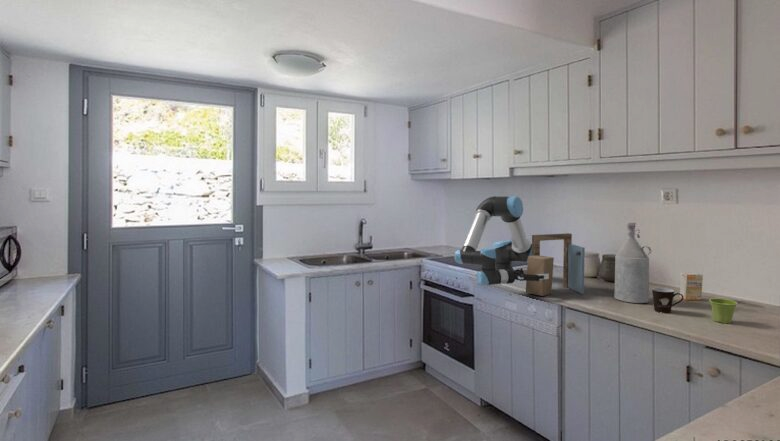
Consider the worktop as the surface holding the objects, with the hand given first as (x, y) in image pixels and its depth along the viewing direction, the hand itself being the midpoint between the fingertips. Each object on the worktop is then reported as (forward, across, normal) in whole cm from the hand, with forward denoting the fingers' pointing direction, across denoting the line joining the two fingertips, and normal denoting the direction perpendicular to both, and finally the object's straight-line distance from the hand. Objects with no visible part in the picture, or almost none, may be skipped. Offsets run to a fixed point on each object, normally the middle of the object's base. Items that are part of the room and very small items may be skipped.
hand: (540, 273), depth 232 cm
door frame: (+13, -10, -11) cm, 20 cm away
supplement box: (+64, +33, -11) cm, 73 cm away
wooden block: (-1, 0, -11) cm, 11 cm away
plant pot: (+44, +64, -11) cm, 79 cm away
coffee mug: (+34, +46, -11) cm, 59 cm away
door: (+20, 0, -11) cm, 23 cm away
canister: (+35, +25, -11) cm, 45 cm away
